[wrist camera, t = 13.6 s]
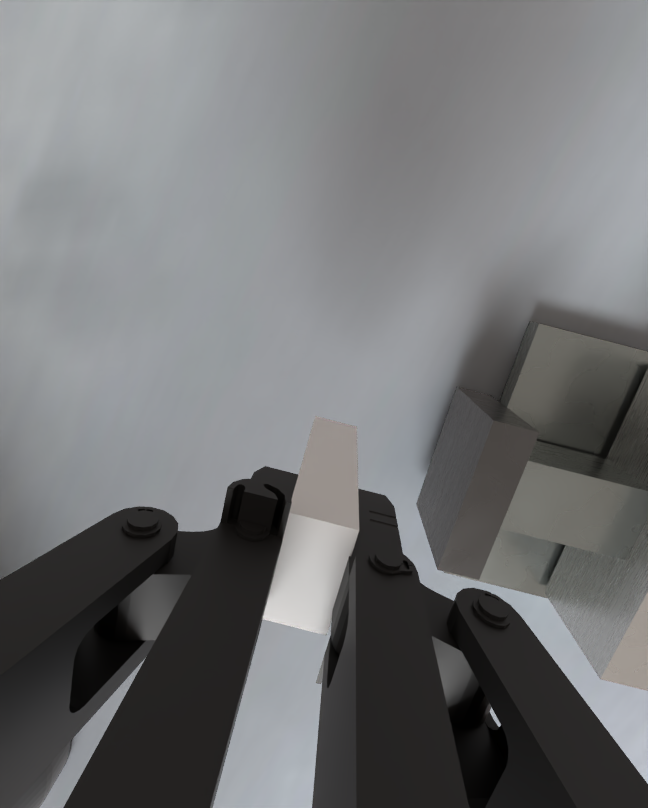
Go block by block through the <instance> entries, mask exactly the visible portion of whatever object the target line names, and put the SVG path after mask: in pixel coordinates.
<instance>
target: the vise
mask: <svg viewBox="0 0 648 808" xmlns="http://www.w3.org/2000/svg"><path fill="white" fill-rule="evenodd" d="M647 369H648V351H644V350H640V349H636V348H632V347H628V346H624V345H620V344H617V343H613V342H609V341H605V340H601V339H597V338H593V337H590V336H586V335H582V334H578V333H574V332H570V331H566V330H563V329H559V328H555V327H551V326H547V325H543V324H539V323H534V322H529V325H528V328H527V330H526V333H525V336H524V338H523V341H522V344H521V346H520V349H519V352H518V354H517V357H516V360H515V362H514V365H513V368H512V370H511V373H510V376H509V378H508V381H507V384H506V386H505V389H504V392H503V394H502V397H501V400H500V403H502V404H503V405H504V406H506V407H507V408H508V409H510V410H511V411H512V412H514V413H515V414H516V415H518V416H519V417H520V418H521V419H523V420H524V421H525V422H527V423H528V424H529V425H531V426H532V427H533V428H535V429H536V430H537V431H539V432H540V433H539V435H538V438H537V440H536V441H539V442H543V443H547V444H551V445H555V446H559V447H563V448H567V449H571V450H575V451H579V452H583V453H586V454H590V455H594V456H598V457H602V458H606V457H607V455H608V453H609V451H610V449H611V447H612V444H613V442H614V440H615V438H616V436H617V434H618V432H619V429H620V427H621V425H622V423H623V421H624V419H625V417H626V414H627V412H628V410H629V408H630V406H631V404H632V401H633V399H634V397H635V395H636V393H637V391H638V389H639V386H640V384H641V382H642V380H643V378H644V376H645V373H646V371H647ZM565 546H566V545H563V544H559V543H555V542H551V541H547V540H543V539H539V538H535V537H531V536H527V535H523V534H519V533H515V532H511V531H507V530H503V529H500V530H499V533H498V535H497V537H496V540H495V542H494V545H493V547H492V550H491V552H490V554H489V557H488V559H487V562H486V564H485V567H484V569H483V572H482V574H481V576H480V579H479V580H477V579H473V578H469V577H465V576H461V575H457V574H453V573H449V572H445V571H444V573H448V574H452V575H456V576H460V577H464V578H468V579H472V580H476V581H480V582H484V583H488V584H492V585H496V586H500V587H504V588H508V589H513V590H517V591H521V592H525V593H529V594H533V595H537V596H541V597H545V598H548V597H547V596H546V594H545V593H544V591H545V589H546V586H547V584H548V582H549V580H550V578H551V576H552V574H553V571H554V569H555V567H556V565H557V563H558V561H559V558H560V556H561V554H562V552H563V550H564V548H565Z"/></svg>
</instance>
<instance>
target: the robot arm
mask: <svg viewBox="0 0 648 808" xmlns="http://www.w3.org/2000/svg"><path fill="white" fill-rule="evenodd" d="M397 527H398V525H397V519H396V514H395V508H394V506H393V505H392V503H391V502H390V501H389V500H388V498H387V497H386V496H385V495H381V494H377V493H373V492H369V491H365V490H361V489H358V456H357V427H356V426H352V425H348V424H344V423H340V422H336V421H332V420H328V419H325V418H321V417H317V416H315V419H314V422H313V426H312V429H311V433H310V436H309V440H308V443H307V447H306V450H305V454H304V457H303V461H302V464H301V468H300V471H299V475H297V474H293V473H290V472H286V471H282V470H278V469H274V468H270V467H266V466H265V467H263V468H261V469H259V470H258V471H256V472H254V474H253V476H252V478H251V479H242V480H239V481H235V482H233V483H232V484H231V485H230V486H228V488H227V493H226V498H225V503H224V508H223V513H222V518H221V522H220V524H219V526H218V528H216V529H214V530H209V531H204V532H184V531H178V523H177V521H176V520H175V518H174V517H173V516H172V515H170V514H169V513H167V512H165V511H163V510H160V509H156V508H153V507H133V508H127V509H123V510H121V511H118V512H116V513H113V514H112V515H110V516H108V517H107V518H105V519H103V520H102V521H100V522H98V523H96V524H95V525H93V526H91V527H90V528H88V529H86V530H85V531H83V532H81V533H79V534H78V535H76V536H74V537H73V538H71V539H69V540H68V541H66V542H64V543H63V544H61V545H59V546H57V547H56V548H54V549H52V550H51V551H49V552H47V553H46V554H44V555H42V556H40V557H39V558H37V559H35V560H34V561H32V562H30V563H29V564H27V565H25V566H23V567H22V568H20V569H18V570H17V571H15V572H13V573H12V574H10V575H8V576H6V577H5V578H3V579H1V580H0V808H39V807H40V806H41V804H42V803H43V801H44V800H45V798H46V796H47V795H48V793H49V791H50V790H51V788H52V786H53V785H54V783H55V781H56V780H57V778H58V776H59V774H60V773H61V771H62V769H63V767H64V766H65V764H66V761H67V759H68V755H69V752H70V745H71V740H72V738H73V737H74V736H75V735H76V734H77V733H78V732H79V731H80V730H81V728H82V727H83V726H84V725H85V724H86V723H87V722H88V721H89V720H90V719H91V717H92V716H93V715H94V714H95V713H96V712H97V711H98V710H99V709H100V707H101V706H102V705H103V704H104V703H105V702H106V701H107V700H108V699H109V697H110V696H111V695H112V694H113V693H114V692H115V691H116V690H117V689H118V687H119V686H120V685H121V684H122V683H123V682H124V681H125V680H126V679H127V677H128V676H129V675H130V674H131V673H132V672H133V671H134V670H135V669H136V667H137V666H138V665H139V664H140V663H141V662H142V661H143V660H144V659H145V657H146V656H147V657H146V659H145V661H144V662H143V664H142V666H141V668H140V670H139V671H138V673H137V675H136V677H135V679H134V681H133V682H132V684H131V686H130V688H129V690H128V691H127V693H126V695H125V697H124V699H123V701H122V702H121V704H120V706H119V708H118V710H117V711H116V713H115V715H114V717H113V719H112V721H111V722H110V724H109V726H108V728H107V730H106V731H105V733H104V735H103V737H102V739H101V740H100V742H99V744H98V746H97V748H96V750H95V751H94V753H93V755H92V757H91V759H90V760H89V762H88V764H87V766H86V768H85V770H84V771H83V773H82V775H81V777H80V779H79V780H78V782H77V784H76V786H75V788H74V790H73V791H72V793H71V795H70V797H69V799H68V800H67V802H66V804H65V806H64V808H213V804H214V800H215V796H216V792H217V789H218V785H219V781H220V777H221V774H222V770H223V766H224V762H225V759H226V755H227V751H228V747H229V744H230V740H231V736H232V732H233V729H234V725H235V721H236V717H237V714H238V710H239V706H240V702H241V699H242V695H243V691H244V687H245V684H246V680H247V676H248V672H249V669H250V665H251V661H252V657H253V654H254V650H255V646H256V642H257V639H258V635H259V631H260V627H261V623H262V619H264V620H268V621H272V622H276V623H280V624H284V625H288V626H292V627H296V628H300V629H304V630H307V631H311V632H315V633H319V634H323V635H327V633H328V630H329V627H330V623H331V620H332V624H331V636H330V639H329V642H328V646H327V649H326V652H325V655H324V658H323V662H322V665H321V668H320V671H319V674H318V678H317V681H316V683H318V684H321V683H322V693H321V705H320V718H319V730H318V743H317V755H316V767H315V780H314V792H313V804H312V808H648V784H647V783H646V781H645V780H644V779H643V777H642V776H641V775H640V773H639V772H638V771H637V769H636V768H635V767H634V765H633V764H632V763H631V761H630V760H629V759H628V757H627V756H626V755H625V754H624V752H623V751H622V750H621V748H620V747H619V746H618V744H617V743H616V742H615V740H614V739H613V738H612V736H611V735H610V734H609V732H608V731H607V730H606V728H605V727H604V726H603V724H602V723H601V722H600V720H599V719H598V718H597V716H596V715H595V714H594V713H593V711H592V710H591V709H590V707H589V706H588V705H587V703H586V702H585V701H584V699H583V698H582V697H581V695H580V694H579V693H578V691H577V690H576V689H575V687H574V686H573V685H572V683H571V682H570V681H569V679H568V678H567V677H566V676H565V674H564V673H563V672H562V670H561V669H560V668H559V666H558V665H557V664H556V662H555V661H554V660H553V658H552V657H551V656H550V654H549V653H548V652H547V650H546V649H545V648H544V646H543V645H542V644H541V642H540V641H539V640H538V639H537V637H536V636H535V635H534V633H533V632H532V631H531V629H530V628H529V627H528V625H527V624H526V623H525V621H524V620H523V619H522V617H521V616H520V615H519V614H518V613H517V612H516V611H515V610H514V609H513V608H512V607H511V605H509V604H508V603H506V602H505V601H504V600H502V599H501V598H500V597H498V596H496V595H494V594H491V593H490V592H487V591H484V590H480V589H476V588H467V589H462V590H461V591H460V592H458V593H457V595H456V598H455V600H454V601H453V600H451V599H449V598H446V597H444V596H442V595H440V594H438V593H436V592H434V591H432V590H431V589H429V588H427V587H425V586H424V585H423V584H421V583H420V580H419V576H418V572H417V570H416V568H415V566H414V564H413V563H412V562H411V561H410V560H409V559H408V558H407V557H406V556H405V555H403V552H402V547H401V541H400V536H399V530H398V528H397ZM322 680H323V681H322ZM491 707H492V709H493V710H494V712H495V714H496V716H497V718H498V720H499V722H500V723H501V726H500V727H498V726H497V724H496V723H495V721H494V720H493V718H492V716H491V714H490V712H489V711H490V709H491Z"/></svg>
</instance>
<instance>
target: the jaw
mask: <svg viewBox="0 0 648 808" xmlns="http://www.w3.org/2000/svg"><path fill="white" fill-rule="evenodd" d="M539 433H540V432H539V431H537V430H536V429H535V428H533V427H532V426H531V425H529V424H528V423H527V422H525V421H524V420H523V419H521V418H520V417H519V416H518V415H516V414H515V413H514V412H512V411H511V410H510V409H508V408H507V407H506V406H504V405H503V404H502V403H500V402H499V401H498V400H496V399H495V398H494V397H492V396H491V395H487V394H483V393H479V392H475V391H471V390H468V389H464V388H460V387H456V390H455V393H454V396H453V399H452V402H451V405H450V408H449V411H448V413H447V416H446V419H445V422H444V425H443V428H442V431H441V434H440V437H439V440H438V443H437V445H436V448H435V451H434V454H433V457H432V460H431V463H430V466H429V469H428V472H427V475H426V477H425V480H424V483H423V486H422V489H421V492H420V495H419V498H418V501H417V507H418V510H419V513H420V516H421V520H422V523H423V526H424V529H425V532H426V535H427V538H428V541H429V544H430V548H431V551H432V554H433V557H434V560H435V563H436V566H437V569H438V570H441V571H445V572H449V573H453V574H457V575H461V576H465V577H469V578H473V579H477V580H479V579H480V576H481V574H482V572H483V569H484V567H485V564H486V562H487V559H488V557H489V554H490V552H491V550H492V547H493V545H494V542H495V540H496V537H497V535H498V533H499V530H500V529H503V530H507V531H511V532H515V533H519V534H523V535H527V536H531V537H535V538H539V539H543V540H547V541H551V542H555V543H559V544H563V545H566V546H565V548H564V550H563V552H562V554H561V556H560V558H559V561H558V563H557V565H556V567H555V569H554V571H553V574H552V576H551V578H550V580H549V582H548V584H547V586H546V589H545V591H544V593H545V594H546V596H547V597H548V599H549V600H550V602H551V603H552V605H553V607H554V608H555V610H556V611H557V613H558V614H559V616H560V617H561V619H562V621H563V622H564V624H565V625H566V627H567V628H568V630H569V631H570V633H571V634H572V636H573V638H574V639H575V641H576V642H577V644H578V645H579V647H580V648H581V650H582V652H583V653H584V655H585V656H586V658H587V659H588V661H589V662H590V664H591V665H592V667H593V669H594V670H595V672H596V673H597V675H598V676H599V678H600V679H602V680H606V681H610V682H614V683H618V684H622V685H626V686H631V687H635V688H639V689H643V690H647V691H648V369H647V371H646V373H645V376H644V378H643V380H642V382H641V384H640V386H639V389H638V391H637V393H636V395H635V397H634V399H633V401H632V404H631V406H630V408H629V410H628V412H627V414H626V417H625V419H624V421H623V423H622V425H621V427H620V429H619V432H618V434H617V436H616V438H615V440H614V442H613V444H612V447H611V449H610V451H609V453H608V455H607V457H606V458H602V457H598V456H594V455H590V454H586V453H583V452H579V451H575V450H571V449H567V448H563V447H559V446H555V445H551V444H547V443H543V442H539V441H536V440H537V438H538V435H539Z"/></svg>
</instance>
